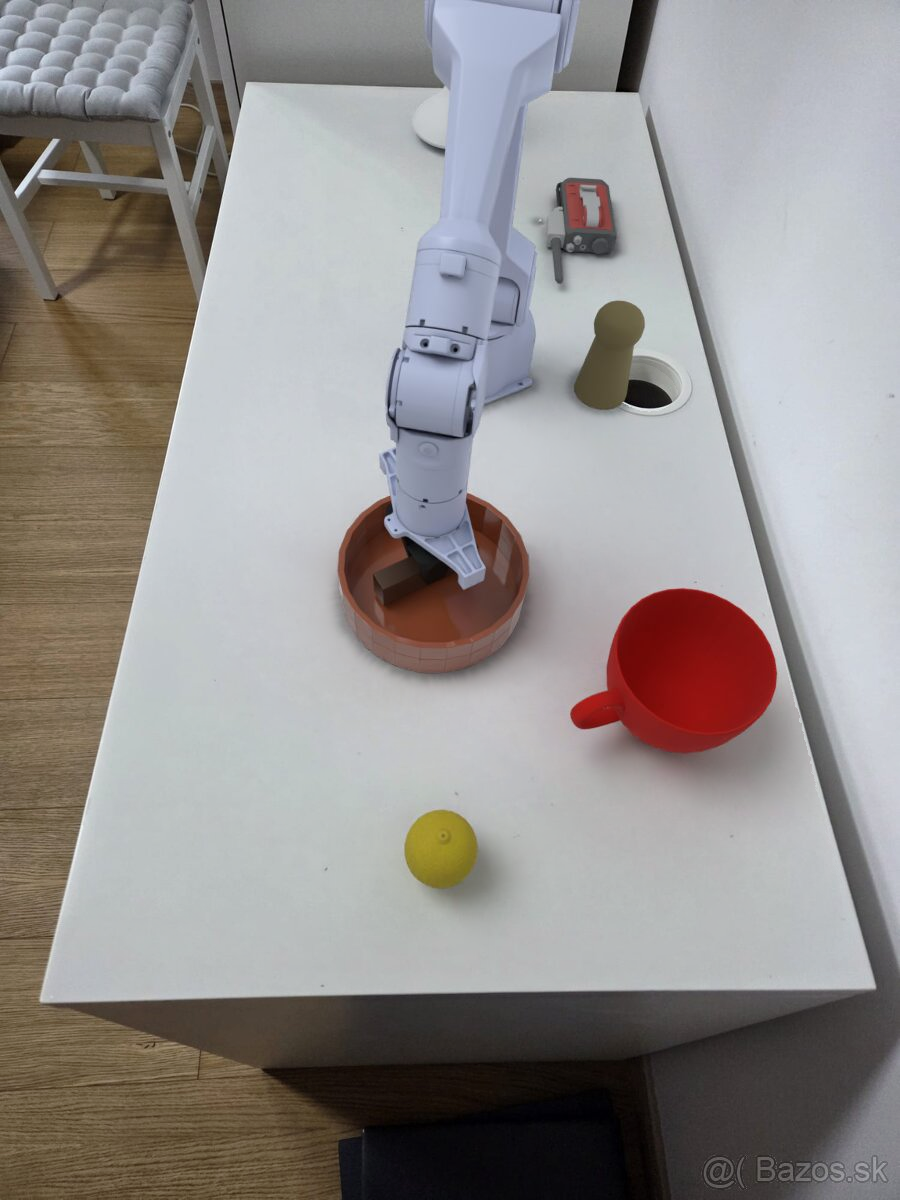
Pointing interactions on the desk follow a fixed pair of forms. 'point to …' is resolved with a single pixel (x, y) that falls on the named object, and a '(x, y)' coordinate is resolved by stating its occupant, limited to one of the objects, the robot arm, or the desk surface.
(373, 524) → the bowl
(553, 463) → the desk surface
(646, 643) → the ceramic cup
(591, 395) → the olive brown pawn
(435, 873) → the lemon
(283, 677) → the desk surface
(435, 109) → the flower in vase
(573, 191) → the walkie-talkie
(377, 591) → the brown rectangular block
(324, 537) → the desk surface
